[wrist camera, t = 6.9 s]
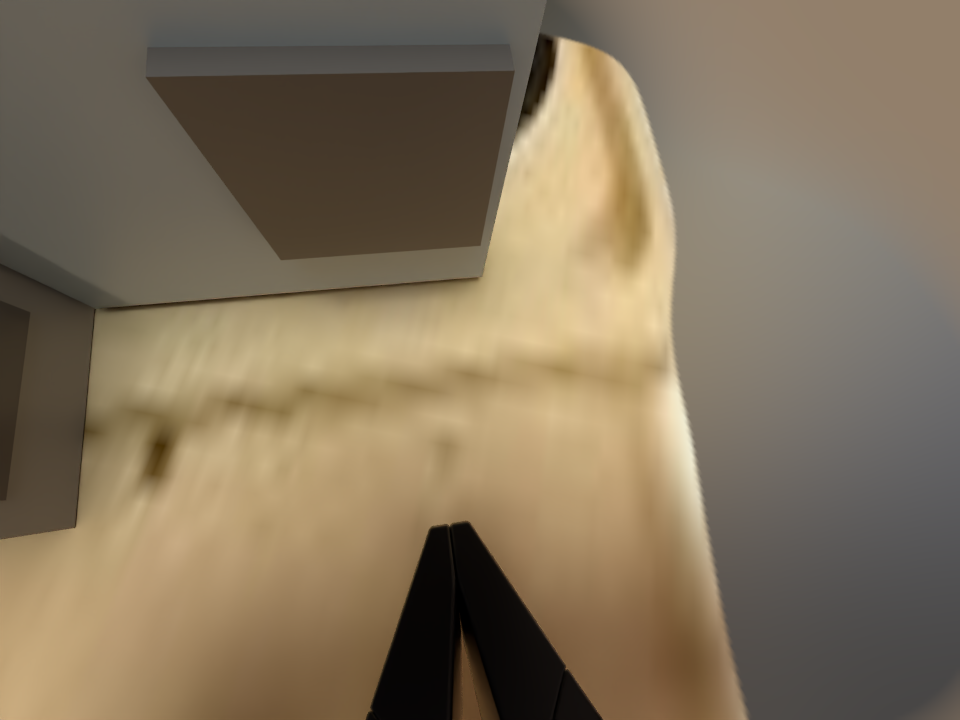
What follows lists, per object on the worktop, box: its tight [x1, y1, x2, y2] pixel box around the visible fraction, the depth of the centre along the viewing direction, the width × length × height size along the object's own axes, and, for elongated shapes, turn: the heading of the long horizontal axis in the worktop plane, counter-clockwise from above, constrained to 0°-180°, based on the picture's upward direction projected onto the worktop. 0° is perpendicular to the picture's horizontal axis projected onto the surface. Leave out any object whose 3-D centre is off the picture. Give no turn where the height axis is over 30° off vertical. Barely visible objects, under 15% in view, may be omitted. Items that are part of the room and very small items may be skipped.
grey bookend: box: [0, 0, 547, 309], centre depth 11 cm, size 12×14×13 cm
